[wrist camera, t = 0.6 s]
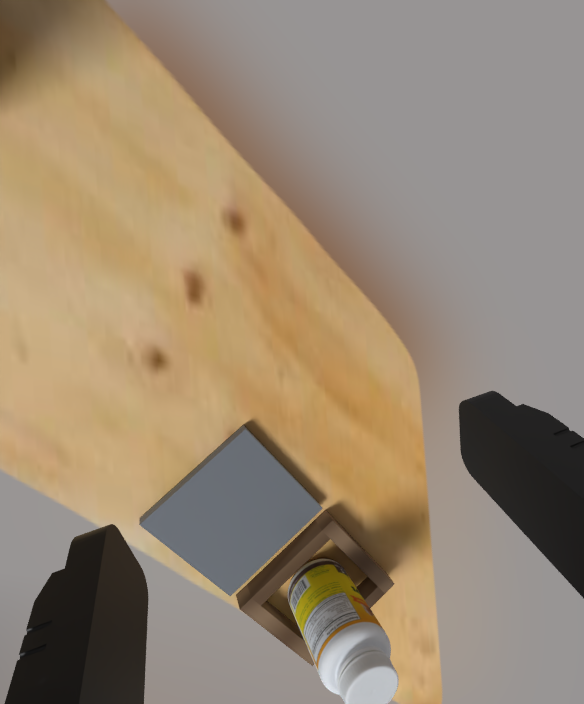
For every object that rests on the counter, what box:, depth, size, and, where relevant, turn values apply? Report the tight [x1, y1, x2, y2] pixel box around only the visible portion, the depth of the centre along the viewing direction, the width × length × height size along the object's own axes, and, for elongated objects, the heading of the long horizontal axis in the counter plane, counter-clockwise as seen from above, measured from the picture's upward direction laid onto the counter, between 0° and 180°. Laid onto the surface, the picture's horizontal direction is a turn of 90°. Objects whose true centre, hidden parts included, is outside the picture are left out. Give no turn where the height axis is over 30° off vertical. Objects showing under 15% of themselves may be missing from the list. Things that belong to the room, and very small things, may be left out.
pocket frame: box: [236, 510, 394, 665], centre depth 37 cm, size 10×10×2 cm
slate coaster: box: [140, 425, 322, 596], centre depth 34 cm, size 10×10×1 cm
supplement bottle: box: [288, 559, 398, 704], centre depth 33 cm, size 6×6×10 cm
